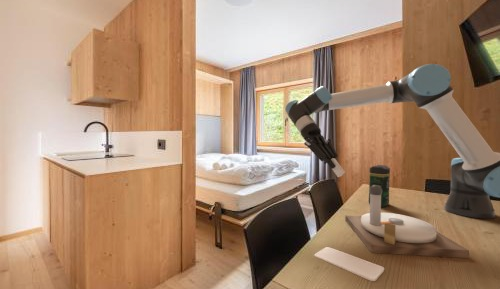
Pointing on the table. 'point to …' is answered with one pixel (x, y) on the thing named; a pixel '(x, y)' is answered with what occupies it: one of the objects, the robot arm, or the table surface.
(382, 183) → the coffee jar
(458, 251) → the stand
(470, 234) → the table surface
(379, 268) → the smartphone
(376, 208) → the dial
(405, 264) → the table surface
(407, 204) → the table surface
